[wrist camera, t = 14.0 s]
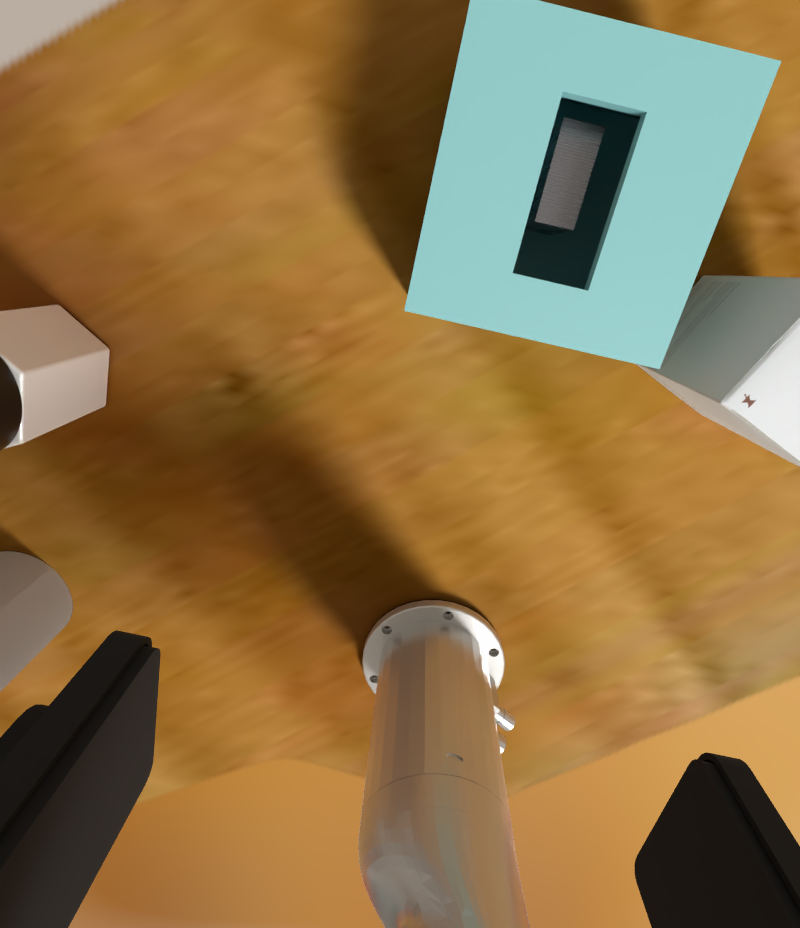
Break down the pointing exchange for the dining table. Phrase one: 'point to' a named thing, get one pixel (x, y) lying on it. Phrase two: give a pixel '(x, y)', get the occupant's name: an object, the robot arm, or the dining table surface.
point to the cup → (28, 610)
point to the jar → (47, 372)
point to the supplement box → (740, 358)
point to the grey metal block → (564, 176)
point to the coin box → (610, 185)
